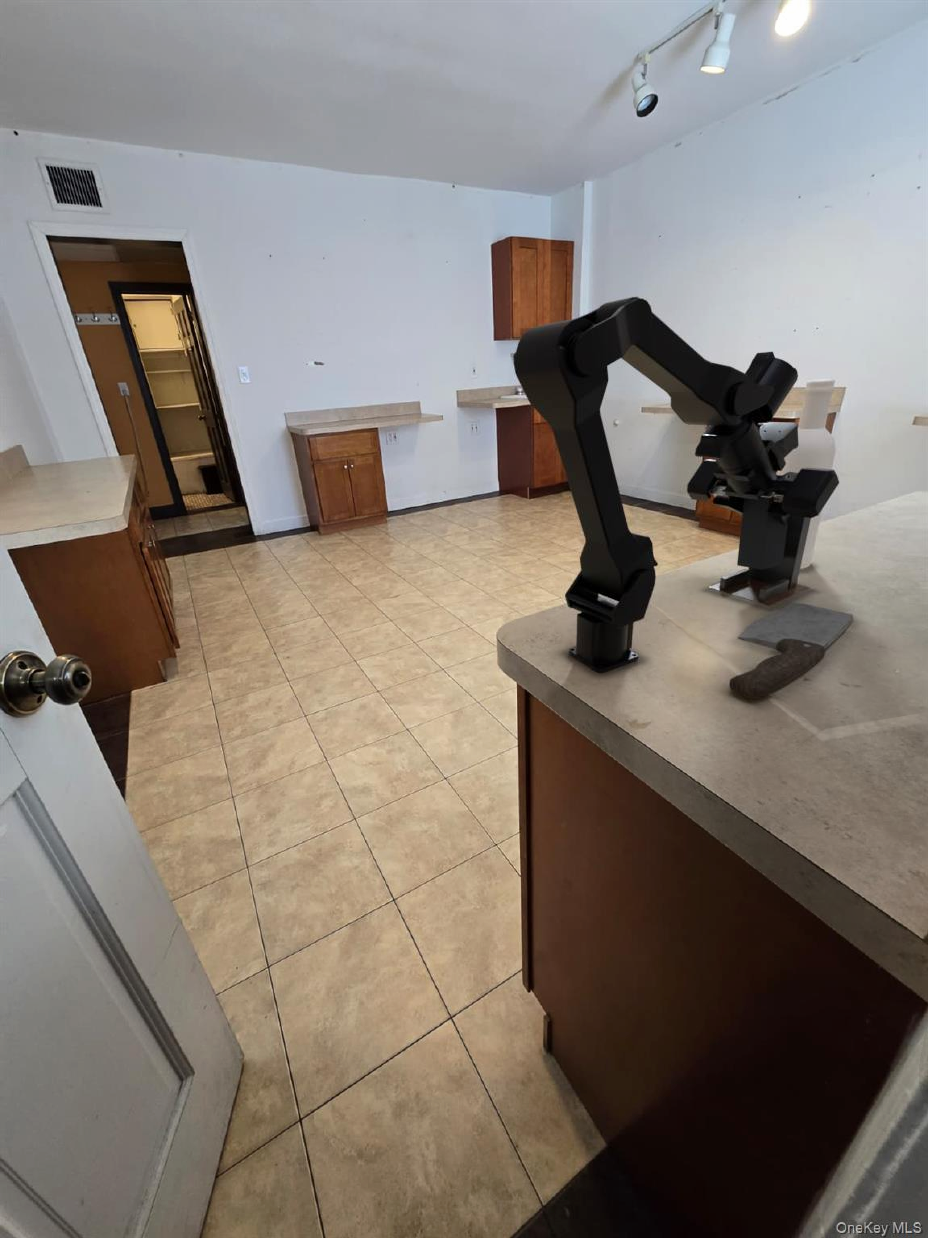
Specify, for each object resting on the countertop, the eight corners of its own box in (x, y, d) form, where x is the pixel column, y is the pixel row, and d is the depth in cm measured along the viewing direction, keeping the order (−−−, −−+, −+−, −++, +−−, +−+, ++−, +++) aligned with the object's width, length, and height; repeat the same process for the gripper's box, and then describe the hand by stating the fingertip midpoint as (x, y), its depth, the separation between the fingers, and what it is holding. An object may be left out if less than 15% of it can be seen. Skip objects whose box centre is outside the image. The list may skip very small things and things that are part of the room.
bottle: (766, 555, 96) (798, 379, 84) (814, 562, 91) (857, 376, 79) (752, 567, 91) (784, 382, 79) (803, 575, 86) (846, 379, 74)
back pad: (761, 569, 76) (772, 478, 72) (736, 565, 79) (745, 478, 75) (782, 564, 78) (794, 476, 74) (757, 560, 81) (767, 476, 77)
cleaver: (779, 712, 53) (783, 695, 52) (687, 680, 60) (689, 664, 59) (856, 621, 71) (860, 607, 70) (779, 603, 77) (781, 590, 76)
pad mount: (768, 609, 75) (786, 518, 70) (707, 590, 83) (719, 507, 78) (809, 590, 80) (828, 504, 75) (748, 574, 88) (761, 495, 83)
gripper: (850, 401, 60) (871, 482, 70) (708, 402, 75) (741, 469, 85) (800, 478, 60) (827, 549, 70) (667, 465, 75) (705, 525, 84)
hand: (771, 519), depth 77 cm, fingers closed on back pad, 4 cm apart
